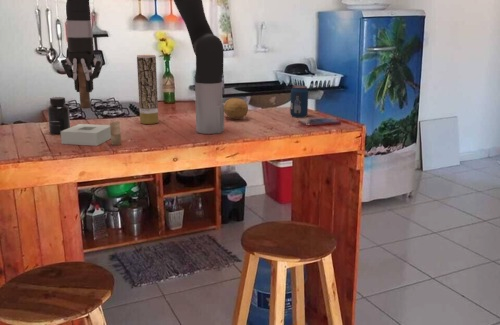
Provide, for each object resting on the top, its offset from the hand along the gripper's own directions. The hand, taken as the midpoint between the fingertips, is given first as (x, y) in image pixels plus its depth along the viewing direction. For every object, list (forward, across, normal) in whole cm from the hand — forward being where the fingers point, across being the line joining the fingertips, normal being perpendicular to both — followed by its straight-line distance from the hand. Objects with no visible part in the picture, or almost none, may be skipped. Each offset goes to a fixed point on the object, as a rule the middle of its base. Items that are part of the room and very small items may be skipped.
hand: (84, 91), depth 166 cm
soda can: (+16, -63, -56) cm, 86 cm away
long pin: (+5, 0, 0) cm, 5 cm away
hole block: (+16, 0, 0) cm, 16 cm away
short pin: (+16, -11, +3) cm, 20 cm away
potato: (+16, -39, -46) cm, 62 cm away
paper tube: (+16, -9, -31) cm, 36 cm away
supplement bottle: (+16, +15, -9) cm, 24 cm away
